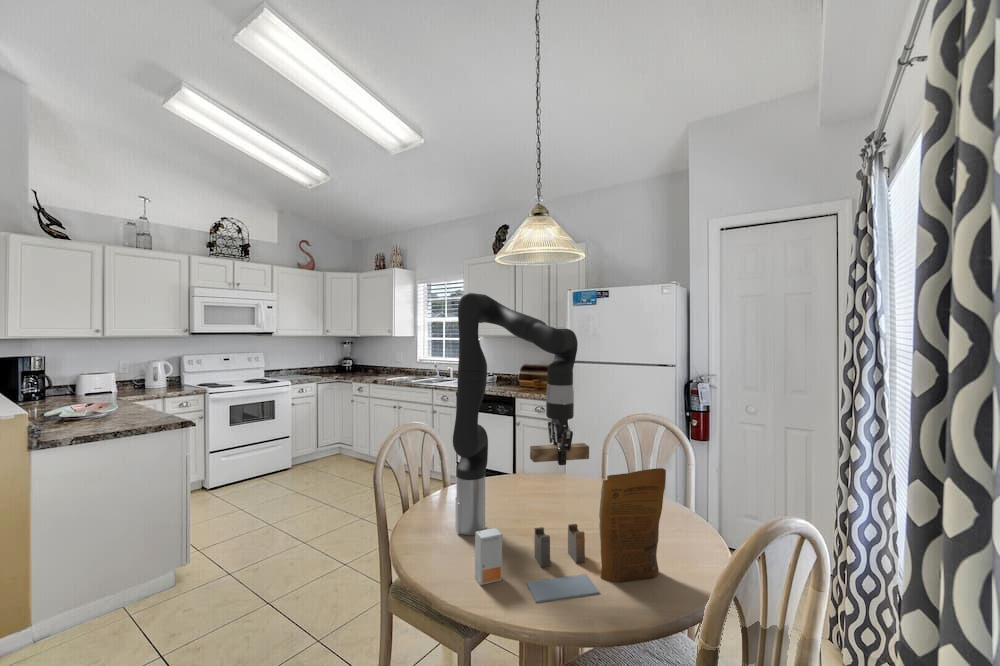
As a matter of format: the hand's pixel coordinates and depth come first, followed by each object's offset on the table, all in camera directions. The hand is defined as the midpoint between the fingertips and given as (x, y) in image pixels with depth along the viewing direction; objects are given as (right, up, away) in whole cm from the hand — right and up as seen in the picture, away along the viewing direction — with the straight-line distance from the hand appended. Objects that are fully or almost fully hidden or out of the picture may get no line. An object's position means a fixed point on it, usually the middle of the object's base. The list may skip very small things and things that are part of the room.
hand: (559, 462), depth 122 cm
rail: (0, +1, 0) cm, 1 cm away
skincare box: (-19, -27, -9) cm, 35 cm away
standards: (0, -27, 0) cm, 27 cm away
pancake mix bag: (+18, -27, -8) cm, 34 cm away
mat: (-1, -27, -13) cm, 30 cm away
